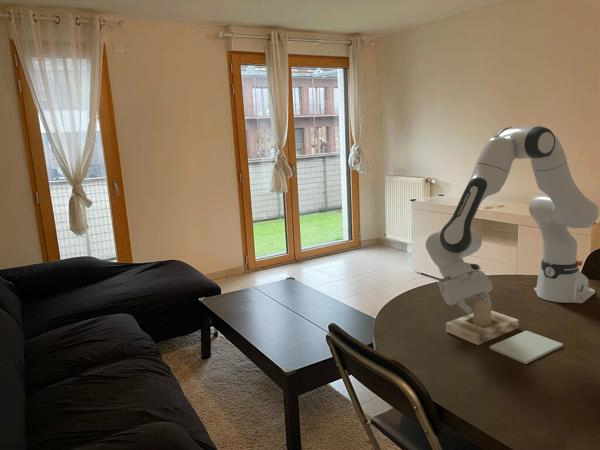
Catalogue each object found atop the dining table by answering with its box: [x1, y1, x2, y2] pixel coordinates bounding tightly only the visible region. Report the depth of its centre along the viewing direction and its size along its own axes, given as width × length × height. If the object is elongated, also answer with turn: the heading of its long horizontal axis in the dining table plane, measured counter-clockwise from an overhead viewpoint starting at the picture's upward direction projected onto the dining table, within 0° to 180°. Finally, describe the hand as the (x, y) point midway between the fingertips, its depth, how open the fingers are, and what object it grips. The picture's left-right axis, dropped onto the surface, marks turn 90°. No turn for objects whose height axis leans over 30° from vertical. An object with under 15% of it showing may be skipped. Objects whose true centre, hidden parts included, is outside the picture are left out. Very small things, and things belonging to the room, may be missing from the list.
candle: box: [472, 299, 492, 328], centre depth 154 cm, size 6×6×10 cm
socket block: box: [445, 309, 520, 346], centre depth 155 cm, size 20×13×3 cm, turn 120°
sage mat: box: [489, 330, 564, 365], centre depth 141 cm, size 18×12×1 cm, turn 120°
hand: (479, 309), depth 154 cm, fingers open, 8 cm apart
